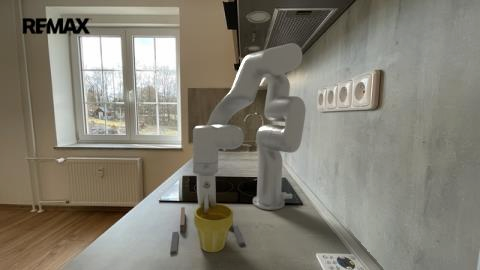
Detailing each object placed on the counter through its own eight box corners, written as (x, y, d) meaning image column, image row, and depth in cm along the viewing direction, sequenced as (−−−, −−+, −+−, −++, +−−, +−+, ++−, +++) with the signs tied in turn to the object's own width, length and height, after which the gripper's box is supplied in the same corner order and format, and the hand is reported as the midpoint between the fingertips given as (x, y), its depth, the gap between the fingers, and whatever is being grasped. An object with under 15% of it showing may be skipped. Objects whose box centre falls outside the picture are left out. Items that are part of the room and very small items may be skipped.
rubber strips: (237, 227, 69) (237, 225, 69) (244, 245, 60) (244, 242, 60) (172, 234, 64) (172, 232, 64) (170, 254, 56) (170, 251, 56)
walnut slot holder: (224, 210, 80) (224, 204, 80) (230, 227, 69) (230, 220, 69) (181, 214, 77) (181, 207, 77) (180, 232, 65) (180, 225, 65)
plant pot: (228, 232, 66) (229, 201, 65) (235, 254, 56) (236, 219, 55) (193, 235, 64) (193, 203, 62) (194, 259, 54) (194, 222, 52)
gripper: (221, 173, 59) (220, 237, 61) (215, 160, 73) (214, 213, 75) (193, 174, 57) (192, 240, 59) (192, 161, 72) (192, 214, 74)
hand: (204, 224), depth 67 cm, fingers closed
